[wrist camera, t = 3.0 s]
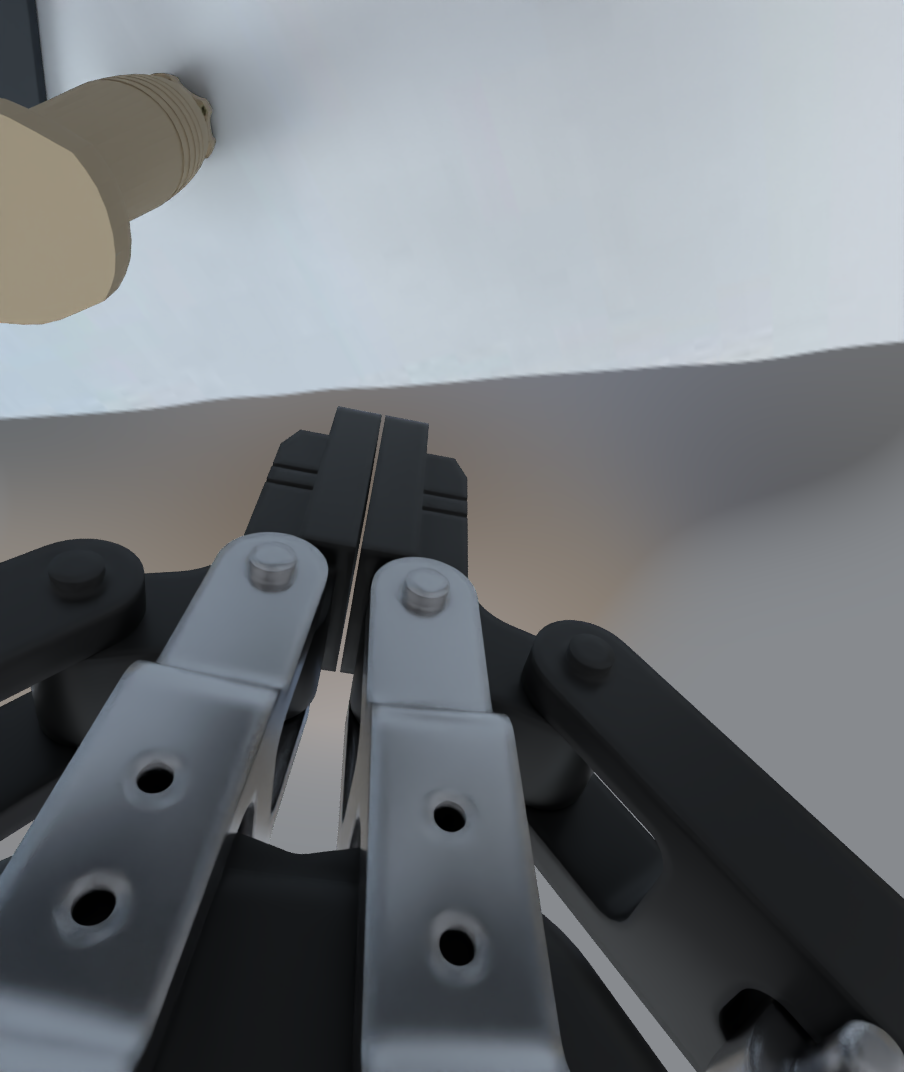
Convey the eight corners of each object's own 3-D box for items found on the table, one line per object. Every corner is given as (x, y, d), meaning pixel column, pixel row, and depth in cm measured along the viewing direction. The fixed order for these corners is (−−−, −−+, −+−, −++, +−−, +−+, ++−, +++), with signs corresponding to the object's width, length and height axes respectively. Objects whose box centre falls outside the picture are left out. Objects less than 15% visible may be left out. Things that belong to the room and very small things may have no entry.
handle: (264, 194, 30) (132, 333, 18) (108, 180, 30) (-129, 312, 18) (254, 56, 27) (88, 113, 15) (80, 39, 27) (-225, 85, 15)
